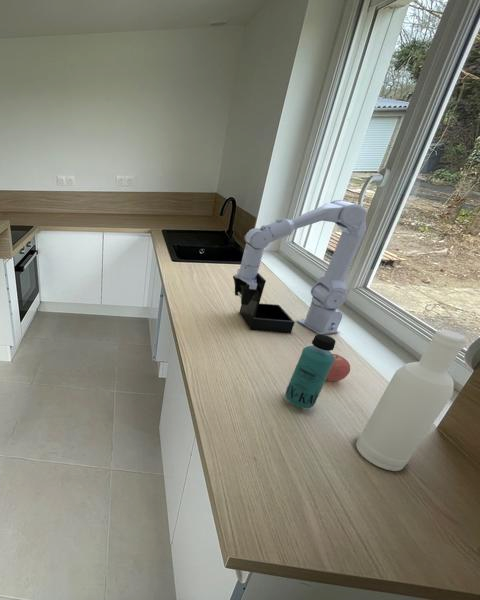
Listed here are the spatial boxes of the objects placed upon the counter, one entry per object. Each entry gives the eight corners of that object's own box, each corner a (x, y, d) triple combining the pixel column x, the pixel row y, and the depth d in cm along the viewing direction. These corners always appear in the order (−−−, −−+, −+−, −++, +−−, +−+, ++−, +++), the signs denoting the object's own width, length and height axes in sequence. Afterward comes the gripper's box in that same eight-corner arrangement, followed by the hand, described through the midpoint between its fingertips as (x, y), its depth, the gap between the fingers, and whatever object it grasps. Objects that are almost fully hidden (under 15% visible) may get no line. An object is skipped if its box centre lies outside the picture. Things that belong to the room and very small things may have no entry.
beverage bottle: (284, 391, 85) (309, 326, 76) (314, 403, 81) (344, 336, 73) (280, 405, 81) (305, 338, 72) (311, 418, 77) (342, 349, 68)
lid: (252, 266, 117) (240, 266, 118) (266, 280, 105) (252, 279, 106) (243, 301, 123) (231, 300, 124) (255, 317, 111) (242, 316, 112)
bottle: (356, 459, 67) (426, 337, 54) (353, 433, 73) (415, 318, 60) (407, 479, 63) (496, 353, 50) (399, 450, 69) (477, 331, 56)
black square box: (275, 315, 124) (278, 304, 122) (290, 333, 112) (294, 322, 110) (239, 312, 126) (241, 302, 124) (250, 330, 114) (253, 318, 112)
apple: (329, 388, 86) (340, 364, 83) (305, 372, 93) (314, 349, 89) (350, 384, 88) (361, 360, 85) (325, 368, 95) (335, 345, 91)
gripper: (232, 257, 117) (224, 290, 123) (244, 270, 104) (235, 307, 110) (252, 258, 116) (243, 292, 122) (267, 272, 103) (257, 309, 109)
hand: (241, 299), depth 116 cm, fingers open, 7 cm apart
